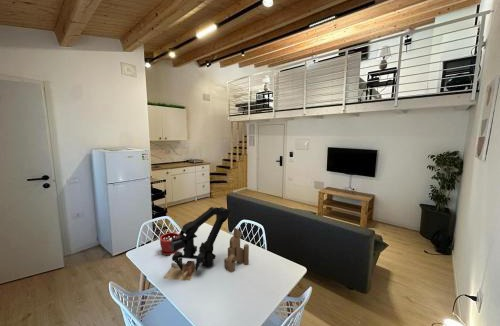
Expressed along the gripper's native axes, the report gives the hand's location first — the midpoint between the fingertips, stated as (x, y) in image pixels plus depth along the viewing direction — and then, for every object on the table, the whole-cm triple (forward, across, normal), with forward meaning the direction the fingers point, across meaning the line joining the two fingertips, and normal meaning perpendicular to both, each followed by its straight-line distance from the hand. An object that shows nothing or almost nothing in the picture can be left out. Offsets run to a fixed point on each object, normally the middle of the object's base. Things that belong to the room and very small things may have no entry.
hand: (189, 270), depth 133 cm
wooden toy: (+3, -27, -12) cm, 30 cm away
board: (+2, +5, 0) cm, 6 cm away
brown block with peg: (+1, 0, +2) cm, 3 cm away
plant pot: (+3, +23, -24) cm, 33 cm away
